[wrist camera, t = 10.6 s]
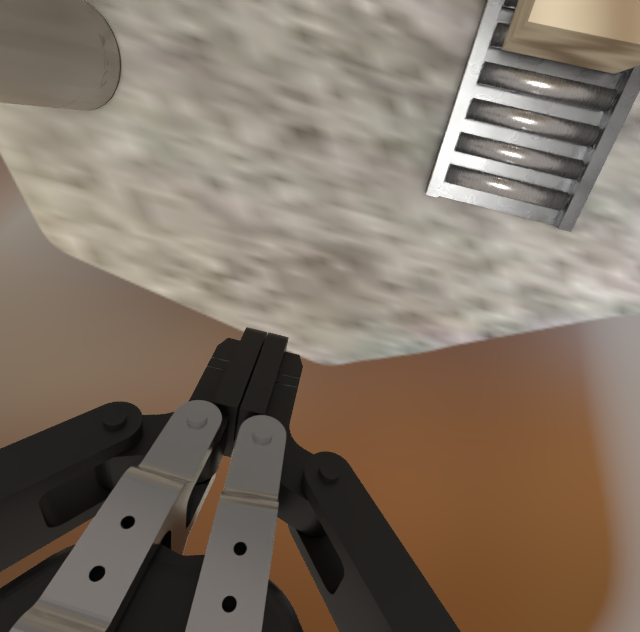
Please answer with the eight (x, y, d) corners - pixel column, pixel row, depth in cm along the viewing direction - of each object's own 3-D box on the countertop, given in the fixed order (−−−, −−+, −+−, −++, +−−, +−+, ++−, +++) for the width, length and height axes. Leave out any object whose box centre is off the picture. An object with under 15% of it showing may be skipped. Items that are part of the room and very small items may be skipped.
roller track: (425, 191, 38) (427, 201, 31) (542, -177, 27) (579, -271, 21) (560, 225, 36) (590, 243, 30) (735, -146, 26) (836, -238, 20)
